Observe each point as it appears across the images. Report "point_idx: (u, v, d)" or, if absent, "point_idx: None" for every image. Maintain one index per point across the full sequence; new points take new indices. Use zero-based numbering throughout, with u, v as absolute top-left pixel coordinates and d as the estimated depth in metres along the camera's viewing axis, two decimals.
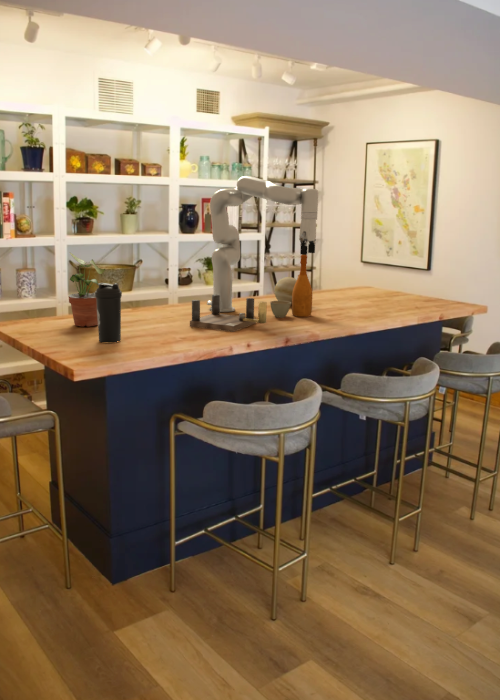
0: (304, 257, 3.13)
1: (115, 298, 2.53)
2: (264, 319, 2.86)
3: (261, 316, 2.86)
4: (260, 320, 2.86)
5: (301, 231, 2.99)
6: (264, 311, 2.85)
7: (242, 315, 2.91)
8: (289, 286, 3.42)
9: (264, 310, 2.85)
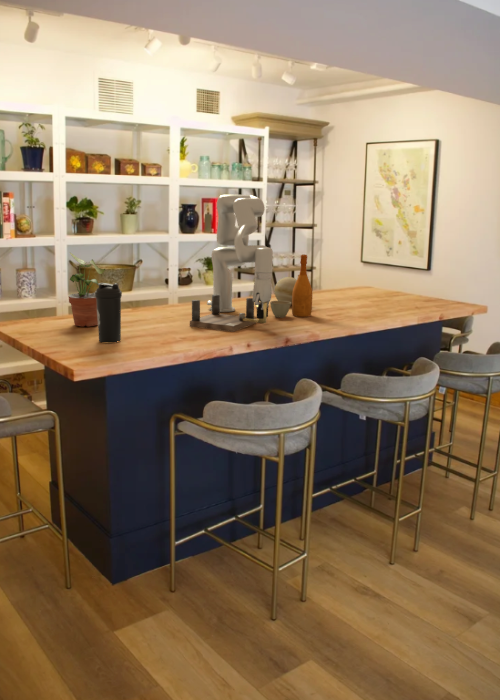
0: (304, 257, 3.13)
1: (115, 298, 2.53)
2: (264, 319, 2.86)
3: None
4: (260, 320, 2.86)
5: (254, 292, 2.81)
6: (264, 311, 2.85)
7: (242, 315, 2.91)
8: (289, 286, 3.42)
9: (264, 310, 2.85)
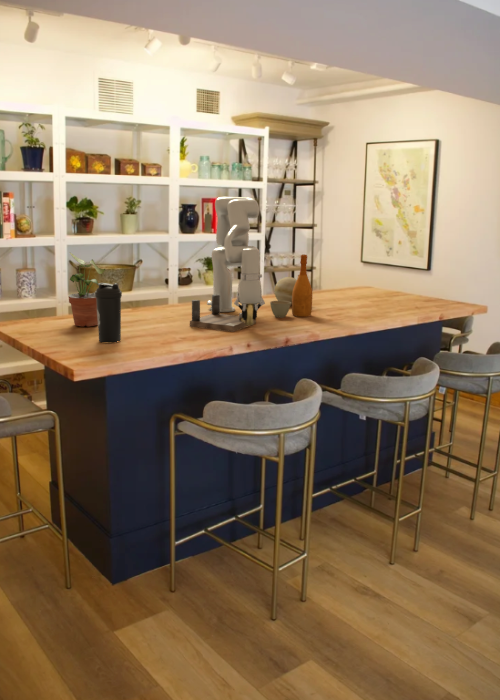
0: (304, 257, 3.13)
1: (115, 298, 2.53)
2: (248, 321, 2.81)
3: None
4: (245, 321, 2.82)
5: (237, 292, 2.80)
6: (248, 313, 2.80)
7: (240, 315, 2.91)
8: (289, 286, 3.42)
9: (248, 312, 2.80)
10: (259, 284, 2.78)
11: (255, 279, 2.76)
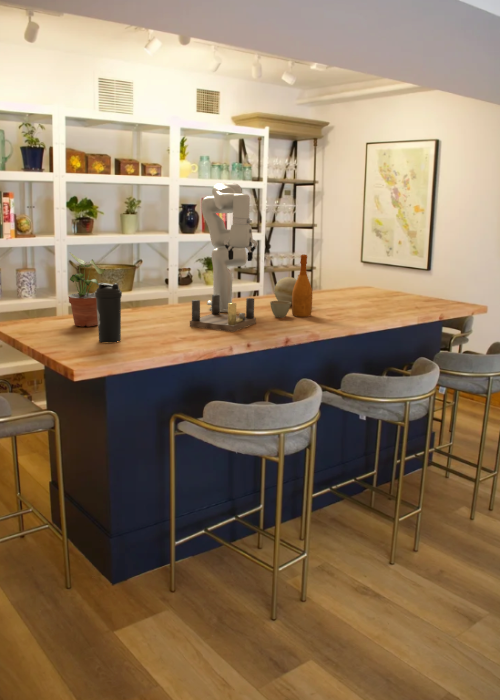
0: (304, 257, 3.13)
1: (115, 298, 2.53)
2: (228, 320, 2.82)
3: None
4: None
5: None
6: (228, 312, 2.81)
7: (239, 315, 2.92)
8: (289, 286, 3.42)
9: (228, 311, 2.81)
10: (245, 229, 2.92)
11: (240, 223, 2.91)
